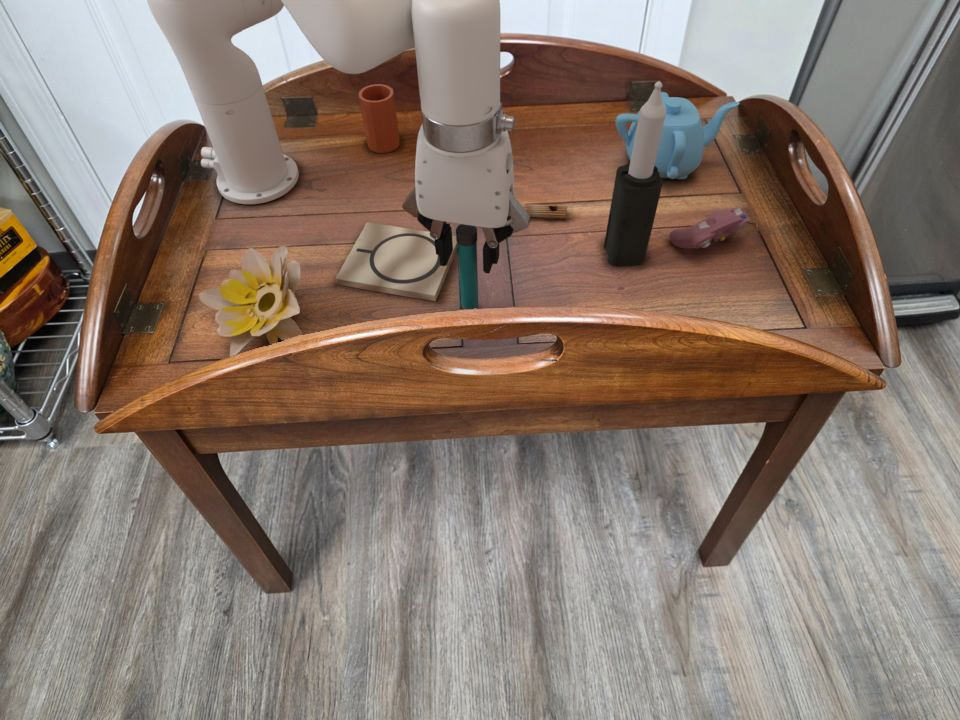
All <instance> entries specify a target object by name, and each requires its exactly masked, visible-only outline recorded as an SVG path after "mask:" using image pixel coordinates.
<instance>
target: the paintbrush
mask: <svg viewBox="0 0 960 720" xmlns="http://www.w3.org/2000/svg"><path fill="white" fill-rule="evenodd" d="M520 204H521V205H522V207H523V208H524V209H525V210H526V212H527V213H528V214H529V216H530V217H531V218H543V219H547V218H548V219H552V218H553V219H561V220H562V219H567V216H568V215H567V214H568V207H567V205H551V204H531V203H520ZM508 216H509V217H510V215H509V214H508Z"/></svg>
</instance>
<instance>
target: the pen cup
mask: <svg viewBox="0 0 960 720" xmlns="http://www.w3.org/2000/svg"><path fill="white" fill-rule="evenodd" d="M358 99H359V104H360V110H361V115H362V121H363V127H364V133H365V138H366V142H367V143H366V144H367V147H368V149H369V151H372V152H374V153H377V154H386V153H387V154H388V153H390V152H393V151H395V150H397V149H398V148H399V147H400V145H401V138H400V131H399V124H398V117H397V116H398V115H397V109H396V101H395V100H396V99H395V92H394V89H393V88H392V87H391V86H390V85H387V84H382V83H378V84H377V83H375V84H370V85H366V86H364V87H363V88H361V89H360V90H359V91H358Z"/></svg>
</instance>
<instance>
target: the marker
mask: <svg viewBox="0 0 960 720" xmlns="http://www.w3.org/2000/svg"><path fill="white" fill-rule="evenodd" d="M455 236H456V240H457V243H458V248H457V257H458V273H459V288H460V304H461V309H462V310H463V309H474V308H477V309H479V305H480V304H479V303H480V302H479V278H478V277H479V276H478V275H479V274H478V246H477V244H478V243H477V242H478V228H477V226H471V225H464V224H459V225H457V227H456V228H455Z"/></svg>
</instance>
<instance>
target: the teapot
mask: <svg viewBox="0 0 960 720" xmlns="http://www.w3.org/2000/svg"><path fill="white" fill-rule="evenodd" d="M661 96H662V103H663V105H664V107H665V109H666V115H665V120H664V124H663V129H662V133H661V138H660V142H659V147H658V151H657V156H656V160H655V166H656V167H657V168H658V172H659V173H660V174H659V175H660V177H661V179H672V180H675V179H677V180H685V179H688V176H689V175H690V174H691V173H693V172H694V171H695V170H696V169H697V168H699V166H700V165H701V163H702V159H703V156H704V148H706V147H707V146H709V145H711V144H712V143H713V141H715V139H716V138H717V136H718V135H719V132H720V131H721V127H722V124H723V123H724V119H725V118H726V116H727V115H728V113H729V112H731V111H732V110H733V109H735V108H737V107H738V106H739V105H740V101H730V102H727V103H725V104H722V106H720V107H719V108H718V110H717V111H716V112H715V114H714V115H713V117H711V118H712V119H710V121H708V123H707V124H705V125H703V124H702V120H701V116H700V113H699V110H698V108H697V107H696V106H695V105H694V103H692V102H691V101H690V100H689V99H686V98H684V97H678V96H669V94H668V93H667V92H665V91H661ZM639 113H640V110H638V112H637V113H625V112H624V113H620V114H618V115H617V116H616V118H615V128H616V130H617V132H618V134H619V135H620V137H621V139H622V140H623V141H624V143H625V150H626V155H627V157H628V158H629V160H630V161H631V156H632V150H633V145H634V140H635V135H636V129H637V124H638V119H639ZM627 123H631V124H630V126H629V129H628V130H627ZM630 161H629V162H630Z"/></svg>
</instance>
